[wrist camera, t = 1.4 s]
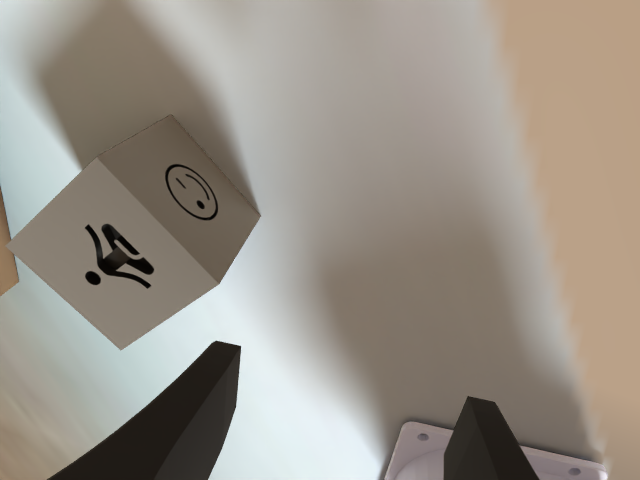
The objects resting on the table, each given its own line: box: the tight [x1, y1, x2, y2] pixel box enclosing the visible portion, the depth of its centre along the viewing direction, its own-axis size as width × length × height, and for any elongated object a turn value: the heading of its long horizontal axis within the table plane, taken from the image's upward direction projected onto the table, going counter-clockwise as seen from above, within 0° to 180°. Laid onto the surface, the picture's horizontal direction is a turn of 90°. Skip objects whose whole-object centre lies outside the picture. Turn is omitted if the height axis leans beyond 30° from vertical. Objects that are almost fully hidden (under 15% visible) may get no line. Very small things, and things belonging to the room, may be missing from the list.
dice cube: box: [6, 115, 261, 350], centre depth 17 cm, size 5×5×5 cm
